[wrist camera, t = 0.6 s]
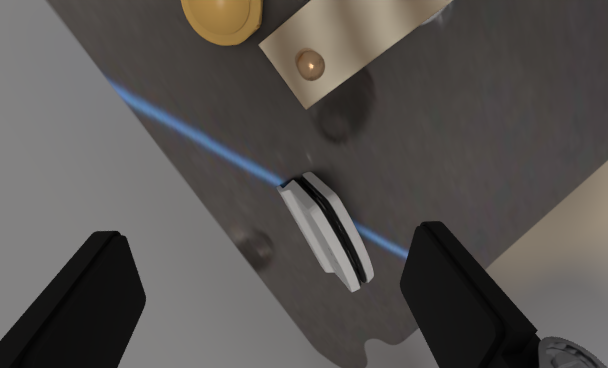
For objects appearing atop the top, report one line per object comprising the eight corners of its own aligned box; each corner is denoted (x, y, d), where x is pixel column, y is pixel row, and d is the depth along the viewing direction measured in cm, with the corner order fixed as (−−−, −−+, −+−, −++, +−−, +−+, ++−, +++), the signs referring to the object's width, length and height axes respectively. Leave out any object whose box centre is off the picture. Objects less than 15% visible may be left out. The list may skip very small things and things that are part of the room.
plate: (418, -92, 25) (424, -97, 24) (450, -3, 28) (457, -3, 27) (259, 44, 29) (258, 44, 28) (304, 107, 32) (305, 109, 31)
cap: (233, -50, 25) (219, -74, 19) (276, 14, 28) (276, 12, 21) (185, -3, 26) (157, -11, 20) (230, 54, 29) (217, 62, 23)
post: (309, 42, 28) (315, 45, 24) (323, 63, 29) (330, 69, 25) (290, 58, 29) (292, 63, 25) (304, 78, 30) (308, 86, 26)
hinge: (274, 184, 37) (303, 217, 28) (305, 166, 38) (341, 192, 29) (322, 267, 45) (355, 312, 36) (346, 250, 46) (384, 291, 37)
